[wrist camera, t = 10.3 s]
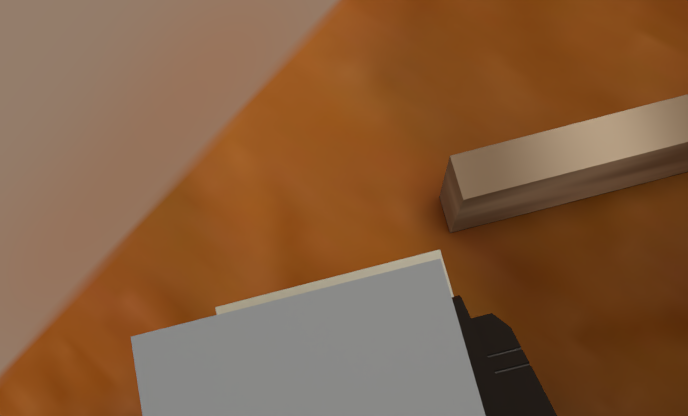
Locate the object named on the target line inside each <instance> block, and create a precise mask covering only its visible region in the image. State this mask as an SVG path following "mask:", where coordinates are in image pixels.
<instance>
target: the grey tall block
mask: <svg viewBox="0 0 688 416" xmlns="http://www.w3.org/2000/svg"><path fill="white" fill-rule="evenodd" d="M131 342H132V349H133V355H134V362H135V369H136V375H137V382H138V388H139V395H140V401H141V408H142V415H143V416H486V415H485V412H484V408H483V405H482V401H481V398H480V394H479V391H478V387H477V384H476V380H475V377H474V373H473V370H472V367H471V363H470V360H469V356H468V353H467V349H466V346H465V342H464V339H463V335H462V332H461V328H460V325H459V321H458V318H457V314H456V311H455V307H454V304H453V300H452V297H451V293H450V290H449V286H448V283H447V279H446V276H445V272H444V269H443V266H442V262H441V259H436V260H432V261H428V262H424V263H420V264H416V265H413V266H409V267H405V268H401V269H397V270H393V271H389V272H385V273H381V274H377V275H373V276H369V277H365V278H361V279H357V280H353V281H349V282H345V283H341V284H337V285H334V286H330V287H326V288H322V289H318V290H314V291H310V292H306V293H302V294H298V295H294V296H290V297H286V298H282V299H278V300H274V301H270V302H266V303H262V304H258V305H255V306H251V307H247V308H243V309H239V310H235V311H231V312H227V313H223V314H219V315H215V316H211V317H207V318H203V319H199V320H195V321H191V322H187V323H183V324H179V325H176V326H172V327H168V328H164V329H160V330H156V331H152V332H148V333H144V334H140V335H136V336H132V337H131Z"/></svg>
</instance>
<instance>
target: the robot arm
mask: <svg viewBox="0 0 688 416" xmlns="http://www.w3.org/2000/svg"><path fill="white" fill-rule="evenodd" d="M452 300H453V304H454V307H455V311H456V314H457V318H458V321H459V325H460V328H461V332H462V335H463V339H464V342H465V346H466V349H467V353H468V356H469V360H470V363H471V367H472V370H473V373H474V377H475V380H476V384H477V387H478V391H479V394H480V398H481V401H482V405H483V408H484V412H485V415H486V416H557V415H556V413H555V411H554V409H553V407H552V405H551V403H550V401H549V400H548V398H547V396H546V394H545V392H544V390H543V388H542V386H541V384H540V382H539V381H538V379H537V377H536V375H535V373H534V371H533V369H532V367H531V366H530V365H529V361H528V360H527V358H526V356H525V354H524V352H523V350H521V346H520V344H519V342H518V341H517V339H516V337H515V335H514V333H513V331H512V329H511V327H509V326H508V325H507V324H505V323H504V322H503V321H501V320H500V319H499V318H497V317H496V316H495V315H493V314H492V313H491V314H487V315H483V316H480V317H476V318H472V319H471V318H470V316H469V313H468V311H467V309H466V307H465V305H464V302H463V300H462V298H461V297H460V296H455V297H452Z"/></svg>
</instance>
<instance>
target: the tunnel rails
mask: <svg viewBox="0 0 688 416" xmlns="http://www.w3.org/2000/svg"><path fill="white" fill-rule="evenodd" d="M685 172H688V94H687V95H683V96H680V97H676V98H672V99H668V100H664V101H660V102H656V103H653V104H649V105H645V106H641V107H637V108H633V109H629V110H626V111H622V112H618V113H614V114H610V115H606V116H602V117H598V118H595V119H591V120H587V121H583V122H579V123H575V124H571V125H568V126H564V127H560V128H556V129H552V130H548V131H544V132H541V133H537V134H533V135H529V136H525V137H521V138H517V139H514V140H510V141H506V142H502V143H498V144H494V145H490V146H486V147H483V148H479V149H475V150H471V151H467V152H463V153H459V154H456V155H452V156H450V158H449V162H448V166H447V169H446V173H445V177H444V181H443V185H442V189H441V192H440V196H439V198H440V201H441V204H442V208H443V211H444V214H445V218H446V221H447V224H448V228H449V231H450V233H452V232H456V231H460V230H464V229H468V228H471V227H475V226H479V225H483V224H487V223H491V222H495V221H499V220H503V219H506V218H510V217H514V216H518V215H522V214H526V213H530V212H534V211H537V210H541V209H545V208H549V207H553V206H557V205H561V204H565V203H568V202H572V201H576V200H580V199H584V198H588V197H592V196H596V195H600V194H603V193H607V192H611V191H615V190H619V189H623V188H627V187H631V186H634V185H638V184H642V183H646V182H650V181H654V180H658V179H662V178H665V177H669V176H673V175H677V174H681V173H685Z"/></svg>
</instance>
